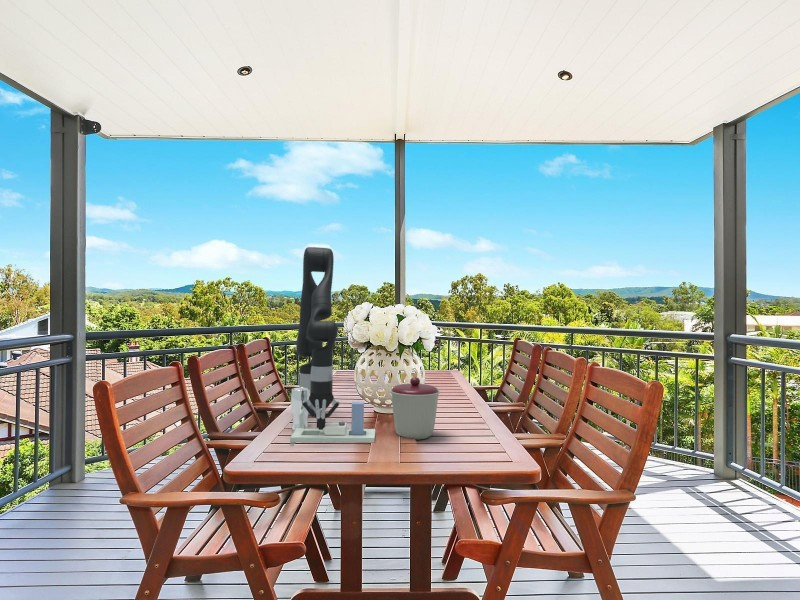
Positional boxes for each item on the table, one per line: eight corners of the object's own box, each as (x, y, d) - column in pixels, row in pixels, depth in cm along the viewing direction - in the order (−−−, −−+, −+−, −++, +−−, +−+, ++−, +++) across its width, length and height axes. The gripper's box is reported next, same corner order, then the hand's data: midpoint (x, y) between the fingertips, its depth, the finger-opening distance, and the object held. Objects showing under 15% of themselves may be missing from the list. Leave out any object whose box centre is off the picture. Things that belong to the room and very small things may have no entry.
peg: (351, 435, 184) (352, 401, 184) (363, 436, 184) (363, 401, 184) (351, 439, 180) (351, 403, 180) (363, 439, 180) (363, 404, 180)
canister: (382, 431, 194) (383, 374, 194) (428, 428, 200) (428, 372, 200) (398, 445, 177) (399, 382, 177) (447, 441, 183) (448, 380, 183)
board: (296, 435, 187) (296, 428, 187) (375, 435, 188) (375, 428, 188) (290, 444, 175) (290, 437, 175) (374, 445, 176) (374, 437, 176)
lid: (326, 429, 185) (326, 420, 185) (346, 429, 185) (346, 420, 185) (324, 434, 178) (324, 425, 178) (345, 434, 178) (345, 425, 178)
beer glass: (286, 429, 195) (287, 389, 195) (298, 425, 201) (299, 386, 201) (301, 432, 192) (302, 391, 192) (313, 428, 198) (314, 388, 198)
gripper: (341, 377, 186) (341, 426, 186) (304, 377, 185) (303, 426, 185) (340, 380, 178) (339, 432, 178) (300, 380, 178) (299, 431, 178)
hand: (320, 429), depth 182 cm, fingers closed
